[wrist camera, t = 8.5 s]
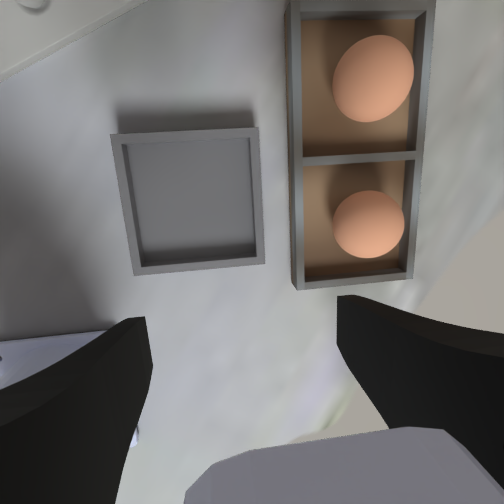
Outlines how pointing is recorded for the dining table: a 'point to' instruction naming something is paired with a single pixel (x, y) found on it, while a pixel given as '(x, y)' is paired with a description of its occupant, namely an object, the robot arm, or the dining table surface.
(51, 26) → the test tube rack
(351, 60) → the ball
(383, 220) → the terracotta ball
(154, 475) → the dining table surface
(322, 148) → the pair tray
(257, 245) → the shallow grey square tray
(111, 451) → the robot arm
